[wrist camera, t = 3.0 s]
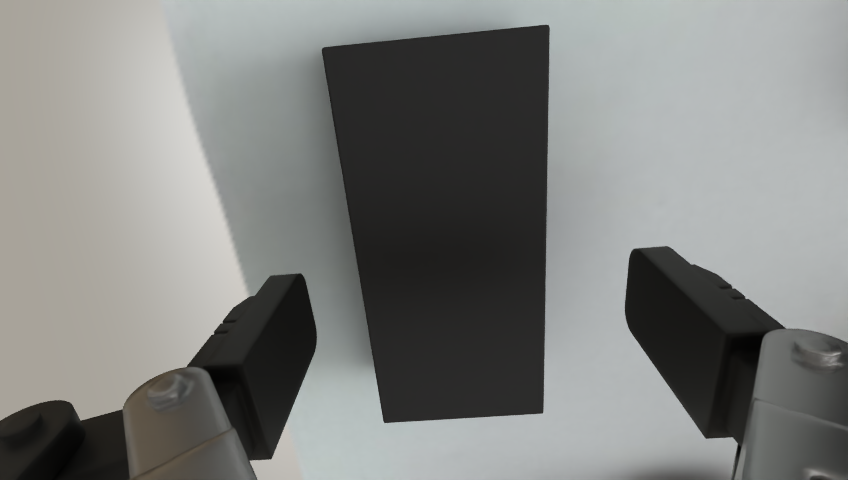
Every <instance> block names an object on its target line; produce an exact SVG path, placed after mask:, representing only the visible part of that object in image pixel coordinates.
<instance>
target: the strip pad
mask: <svg viewBox="0 0 848 480" xmlns="http://www.w3.org/2000/svg"><path fill="white" fill-rule="evenodd" d="M549 30H550V28H549V25H539V26H529V27H520V28H510V29H500V30H490V31H480V32H470V33H460V34H451V35H441V36H431V37H421V38H411V39H401V40H391V41H382V42H372V43H362V44H352V45H342V46H332V47H324V48H322V55H323V61H324V67H325V73H326V79H327V85H328V91H329V97H330V103H331V109H332V115H333V121H334V127H335V133H336V139H337V145H338V151H339V157H340V163H341V169H342V175H343V181H344V187H345V193H346V199H347V205H348V211H349V217H350V223H351V229H352V235H353V241H354V247H355V253H356V259H357V265H358V271H359V277H360V283H361V289H362V295H363V301H364V307H365V313H366V319H367V325H368V331H369V337H370V343H371V349H372V355H373V361H374V367H375V373H376V379H377V385H378V391H379V397H380V403H381V409H382V415H383V421H384V423H391V422H408V421H425V420H441V419H458V418H475V417H491V416H508V415H524V414H541V413H543V403H544V341H545V279H546V216H547V154H548V92H549Z"/></svg>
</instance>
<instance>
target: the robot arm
mask: <svg viewBox="0 0 848 480" xmlns="http://www.w3.org/2000/svg"><path fill="white" fill-rule="evenodd" d="M625 316H626V321H627V324H628V327H629V329H630V331H631V333H632V334H633V336H634V337H635V339H636V340H637V341H638V343H639V344H640V346H641V347H642V349H643V350H644V351H645V353H646V354H647V356H648V357H649V359H650V360H651V361H652V363H653V364H654V366H655V367H656V368H657V370H658V371H659V373H660V374H661V376H662V377H663V378H664V380H665V381H666V383H667V384H668V386H669V387H670V388H671V390H672V391H673V393H674V394H675V395H676V397H677V398H678V400H679V401H680V403H681V404H682V405H683V407H684V408H685V410H686V411H687V413H688V414H689V415H690V417H691V418H692V420H693V421H694V422H695V424H696V425H697V427H698V428H699V430H700V431H701V432H702V434H703V435H704V437H705V438H706V439H707V438H727V437H733V438H734V439H735V440H736V442H737V443H738V446H737V450H736V454H735V458H734V464H733V469H732V474H731V480H848V343H847V342H845V341H842V340H840V339H837V338H835V337H832V336H829V335H826V334H822V333H819V332H814V331H809V330H803V329H786V328H785V327H784V326H782V325H781V324H780V323H778V322H777V321H776V320H775V319H773V318H772V317H771V316H769V315H768V314H767V313H766V312H764V311H763V310H762V309H761V308H759V307H758V306H757V305H755V304H754V303H753V302H752V301H750V300H749V299H745V296H744V295H743V294H741V293H740V292H739V291H738V290H736V289H732V286H731V285H730V284H729V283H727V282H726V281H725V280H723V279H722V278H721V277H720V276H718V275H717V274H715V273H713V272H710V271H708V270H706V269H703V268H701V267H699V266H696V265H691V264H690V263H689V262H687V261H686V260H685V259H684V258H683V257H681V256H680V255H679V254H678V253H676V252H675V251H674V250H673V249H672V248H670V247H668V246H664V247H651V248H638V249H633V250H632V252H631V254H630V258H629V267H628V278H627V289H626V299H625ZM316 342H317V332H316V325H315V321H314V316H313V312H312V307H311V303H310V298H309V294H308V289H307V285H306V281H305V278H304V276H303V275H302V274H286V275H273V276H270V277H269V278H268V279H267V280H266V282H265V283H264V284H263V286H262V287H261V288H260V290H259V291H258V292H257V294H256V295H255V296H250V297H248V298H247V299H246V300H244V301H243V302H241V303H240V304H238V305H237V306H236V307H234V308H233V309H232V310H231V311H230V313H229V314H228V315H227V316H226V318H225V319H224V320H223V324H220V325H219V326H218V328H217V329H216V330H215V331H214V335H211V337H210V338H209V339H208V340H207V342H206V343H205V344H204V345H203V347H202V348H201V349H200V350H199V352H198V353H197V354H196V355H195V357H194V358H193V359H192V360H191V362H190V363H189V364H188V365H187V367H185V368H179V369H175V370H171V371H168V372H166V373H163V374H161V375H158V376H156V377H154V378H152V379H150V380H149V381H147V382H146V383H144V384H143V385H141V386H140V387H139V388H137V389H136V390H135V391H134V392H133V393H132V394H131V395H130V396H129V398H128V399H127V400H126V402H125V404H124V407H123V409H122V410H119V411H115V412H111V413H108V414H104V415H100V416H97V417H93V418H90V419H86V420H82V421H80V419H79V417H78V415H77V413H76V411H75V409H74V407H73V405H72V404H71V403H70V402H67V401H62V400H58V401H57V400H55V401H48V402H43V403H39V404H36V405H33V406H30V407H27V408H25V409H22V410H20V411H18V412H16V413H14V414H12V415H10V416H8V417H6V418H4V419H3V420H1V421H0V480H257V477H256V475H255V473H254V471H253V468H252V466H251V464H250V461H249V460H266V459H272V456H273V454H274V451H275V449H276V447H277V444H278V442H279V439H280V436H281V434H282V432H283V429H284V427H285V424H286V422H287V419H288V417H289V414H290V412H291V409H292V407H293V404H294V402H295V399H296V397H297V395H298V392H299V390H300V387H301V385H302V382H303V380H304V377H305V375H306V372H307V370H308V367H309V365H310V362H311V360H312V357H313V355H314V352H315V349H316Z"/></svg>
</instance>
